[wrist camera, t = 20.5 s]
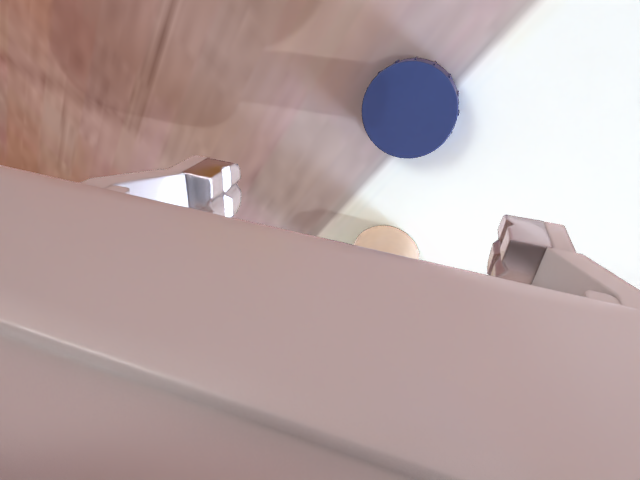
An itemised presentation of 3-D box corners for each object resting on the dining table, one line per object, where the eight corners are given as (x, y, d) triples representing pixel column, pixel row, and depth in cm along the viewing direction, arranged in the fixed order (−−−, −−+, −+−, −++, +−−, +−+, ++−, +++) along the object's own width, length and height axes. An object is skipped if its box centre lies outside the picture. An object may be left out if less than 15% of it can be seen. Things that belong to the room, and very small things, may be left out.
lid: (474, 124, 26) (475, 131, 24) (392, 165, 29) (388, 174, 27) (434, 37, 24) (431, 38, 23) (351, 89, 27) (344, 93, 26)
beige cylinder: (339, 245, 33) (294, 327, 25) (392, 212, 31) (362, 292, 22) (378, 293, 34) (347, 388, 26) (433, 265, 32) (420, 362, 23)
